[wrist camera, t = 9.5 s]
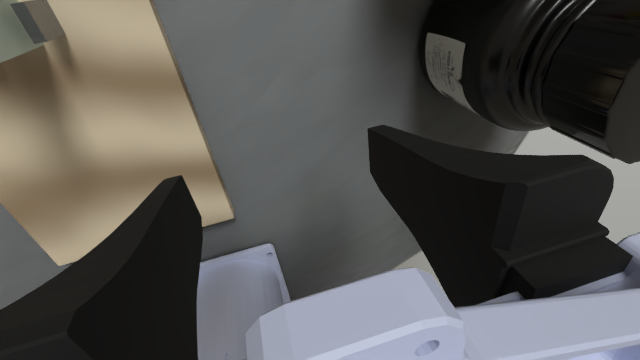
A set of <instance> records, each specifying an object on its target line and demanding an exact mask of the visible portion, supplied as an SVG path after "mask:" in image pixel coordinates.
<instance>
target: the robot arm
mask: <svg viewBox="0 0 640 360" xmlns="http://www.w3.org/2000/svg"><path fill="white" fill-rule="evenodd" d="M368 143H369V160H370V172H371V174H372V176H373V178H374V180H375V182H376V184H377V186H378V187H379V189H380V191H381V192H382V194H383V195H384V196H385V198H386V199H387V200H388V202H389V203H390V204H391V206H392V207H393V208H394V210H395V211H396V212H397V214H398V215H399V216H400V218H401V219H402V220H403V222H404V223H405V224H406V226H407V227H408V228H409V230H410V231H411V233H412V234H413V236H414V237H415V239H416V240H417V242H418V244H419V246H420V247H421V249H422V251H423V252H424V254H425V256H426V257H427V259H428V261H429V263H430V265H431V267H432V268H433V270H434V272H435V274H436V276H437V277H438V279H439V281H440V283H441V285H442V287H443V289H444V291H445V293H446V295H447V296H446V295H445V293H444V292H443V290H442V289H441V288H440V286H439V285H438V283H437V282H436V280H435V279H434V277H433V276H432V275H431V274H430V273H427V272H425V271H422V270H420V269H417V268H404V269H396V270H389V271H386V272H383V273H380V274H377V275H373V276H370V277H367V278H364V279H361V280H357V281H354V282H351V283H348V284H345V285H341V286H338V287H335V288H332V289H329V290H325V291H322V292H319V293H316V294H313V295H309V296H306V297H303V298H300V299H296V300H293V301H291V299H290V296H289V293H288V289H287V286H286V283H285V280H284V277H283V274H282V271H281V268H280V264H279V261H278V258H277V255H276V252H275V249H274V246H273V245H272V244H270V243H268V244H264V245H260V246H257V247H253V248H250V249H246V250H243V251H239V252H236V253H232V254H229V255H225V256H222V257H218V258H215V259H211V260H208V261H204V262H201V263H200V261H201V251H202V241H203V235H202V217H201V215H200V213H199V210H198V208H197V206H196V204H195V202H194V200H193V198H192V196H191V193H190V191H189V189H188V187H187V185H186V183H185V181H184V179H183V176H182V175H179V176H175V177H171V178H167V179H164V180H163V181H162V182H161V183H160V184H159V185H158V186H157V187H156V188H155V189H154V190H153V191H152V192H151V193H150V194H149V195H148V196H147V198H146V199H145V200H144V201H143V202H142V203H141V204H140V205H139V206H138V207H137V208H136V209H135V210H134V211H133V213H132V214H130V215H129V216H128V217H127V218H126V219H125V220H124V221H123V222H122V223H121V224H120V225H119V226H118V227H117V228H116V229H115V230H114V231H113V232H112V233H111V234H110V235H109V236H108V237H106V238H105V239H104V240H103V241H102V242H101V243H99V244H98V245H97V246H96V247H95V248H93V249H92V250H91V251H90V252H88V253H87V254H86V255H85V256H83V257H82V258H81V259H79V260H78V261H76V262H75V263H74V264H72V265H71V266H69V267H68V268H67V269H65V270H64V271H62V272H61V273H60V274H58V275H57V276H55V277H54V278H52V279H51V280H49V281H48V282H46V283H45V284H43V285H42V286H40V287H38V288H37V289H35V290H34V291H32V292H30V293H29V294H27V295H25V296H24V297H22V298H20V299H19V300H17V301H15V302H14V303H12V304H10V305H8V306H7V307H5V308H3V309H1V310H0V360H640V232H639V233H637V234H633V235H630V236H628V237H626V238H624V239H622V240H621V241H620V242H618V243H617V244H615V243H614V242H612V241H611V240H609V239H608V238H606V237H605V236H607V235H608V234H609V230H608V228H606V227H605V226H603V225H601V224H600V223H599V222H598V220H599V218H600V216H601V214H602V212H603V210H604V208H605V206H606V204H607V202H608V200H609V197H610V195H611V192H612V189H613V182H614V178H613V175H612V172H611V170H610V169H608V168H607V167H606V166H604V165H602V164H600V163H598V162H596V161H594V160H592V159H590V158H588V157H586V156H584V155H549V156H538V155H514V154H501V153H492V152H484V151H477V150H471V149H466V148H460V147H455V146H451V145H447V144H443V143H439V142H436V141H432V140H429V139H426V138H422V137H419V136H416V135H413V134H410V133H407V132H404V131H402V130H399V129H396V128H392V127H389V126H385V125H380V126H376V127H372V128H368ZM267 253H270V254H267ZM447 297H448V298H447Z"/></svg>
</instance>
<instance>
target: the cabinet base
mask: <svg viewBox="0 0 640 360" xmlns="http://www.w3.org/2000/svg"><path fill="white" fill-rule="evenodd" d="M25 1H32V0H18V2H25ZM47 1H48V3H49V5H50V7H51V8H52V10H53V12H54V14H55V16H56V17H57V19H58V21H59V23H60V25H61V26H62V28H63V30H64V32H65V35H63V36H60V37H58V38H55V39H53V40H50V41H48V42H43V44H44V45H43V46H40V47H38V48H36V49H33V50H31V51H28V52H26V53H23V54H21V55H18V56H16V57H14V58H11V59H9V60H6V61H4V62H1V63H0V203H1V204H2V205H3V206H4V207H5V208H6V209H7V210H8V211H9V213H10V214H11V215H12V216H13V217H14V218H15V219H16V220H17V221H18V222H19V223H20V224H21V226H22V227H23V228H24V229H25V230H26V231H27V232H28V233H29V234H30V235H31V236H32V237H33V239H34V240H35V241H36V242H37V243H38V244H39V245H40V246H41V247H42V248H43V249H44V250H45V252H46V253H47V254H48V255H49V256H50V257H51V258H52V259H53V260H54V261H55V262H56V263H57V265H58V266H61V265H64V264H68V263H72V262H75V261H78V260H79V259H81V258H82V257H83V256H85V255H86V254H87V253H88V252H90V251H91V250H92V249H93V248H95V247H96V246H97V245H98V244H99V243H101V242H102V241H103V240H104V239H105V238H106V237H108V236H109V235H110V234H111V233H112V232H113V231H114V230H115V229H116V228H117V227H118V226H119V225H120V224H121V223H122V222H123V221H124V220H125V219H126V218H127V217H128V216H129V215H130V214H132V213H133V211H134V210H135V209H136V208H137V207H138V206H139V205H140V204H141V203H142V202H143V201H144V200H145V199H146V198H147V196H148V195H149V194H150V193H151V192H152V191H153V190H154V189H155V188H156V187H157V186H158V185H159V184H160V183H161V182H162V181H163V180H164V179H167V178H171V177H175V176H179V175H182V176H183V179H184V181H185V183H186V185H187V187H188V189H189V191H190V193H191V196H192V198H193V200H194V202H195V204H196V206H197V208H198V210H199V213H200V215H201V217H202V227H204V226H208V225H212V224H215V223H219V222H223V221H226V220H230V219H234V209H233V206H232V203H231V201H230V198H229V196H228V193H227V190H226V188H225V185H224V183H223V180H222V177H221V175H220V172H219V170H218V167H217V165H216V162H215V159H214V157H213V154H212V152H211V149H210V146H209V144H208V141H207V139H206V136H205V133H204V131H203V128H202V126H201V123H200V120H199V118H198V115H197V113H196V110H195V108H194V105H193V102H192V100H191V97H190V95H189V92H188V89H187V87H186V84H185V82H184V79H183V76H182V74H181V71H180V69H179V66H178V63H177V61H176V58H175V56H174V53H173V51H172V48H171V45H170V43H169V40H168V38H167V35H166V32H165V30H164V27H163V25H162V22H161V19H160V17H159V14H158V12H157V9H156V6H155V4H154V1H153V0H47Z"/></svg>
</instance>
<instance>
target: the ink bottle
mask: <svg viewBox="0 0 640 360" xmlns="http://www.w3.org/2000/svg"><path fill="white" fill-rule="evenodd" d="M419 56H420V63H421V67H422V70H423V73H424V75H425V77H426V79H427V80H428V82H429V83H430V84H431V85H432V87H433V88H434V89H435V90H437V91H438V92H439V93H440V94H442V95H444V96H445V97H447V98H449V99H451V100H452V101H454V102H456V103H458V104H460V105H461V106H463V107H465V108H467V109H469V110H470V111H472V112H474V113H476V114H478V115H479V116H481V117H483V118H485V119H487V120H489V121H490V122H492V123H494V124H496V125H498V126H501V127H503V128H506V129H510V130H515V131H532V130H538V129H543V128H546V127H550V128H551V129H552V130H554V131H556V132H559V133H561V134H563V135H565V136H567V137H569V138H571V139H573V140H575V141H577V142H580V143H582V144H584V145H586V146H588V147H590V148H592V149H594V150H596V151H598V152H600V153H603V154H605V155H607V156H609V157H611V158H613V159H615V158H616V159H619V160H621V161H623V162H625V163H628V164H632V163H634V162H639V161H640V0H434V1H433V3H432V5H431V7H430V9H429V11H428V14H427V16H426V19H425V22H424V25H423V28H422V32H421V38H420V46H419Z"/></svg>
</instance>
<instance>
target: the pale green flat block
mask: <svg viewBox="0 0 640 360" xmlns="http://www.w3.org/2000/svg"><path fill="white" fill-rule="evenodd" d="M13 3H19V2H18V0H0V63H1V62H4V61H6V60H9V59H11V58H14V57H16V56H18V55H21V54H23V53H26V52H28V51H31V50H33V49H36V48H38V47H40V46H43V45H44V44H43V43H38V44H34V43H33V41H32V40H31V38H30V36H29V35H28V33H27V31H26V30H25V28H24V27H23V25H22V23H21V22H20V20H19V18H18V17H17V15H16V14H15V12H14V10H13V9H12V7H11V5H10V4H13Z"/></svg>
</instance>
